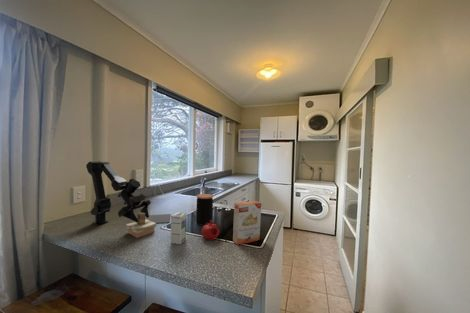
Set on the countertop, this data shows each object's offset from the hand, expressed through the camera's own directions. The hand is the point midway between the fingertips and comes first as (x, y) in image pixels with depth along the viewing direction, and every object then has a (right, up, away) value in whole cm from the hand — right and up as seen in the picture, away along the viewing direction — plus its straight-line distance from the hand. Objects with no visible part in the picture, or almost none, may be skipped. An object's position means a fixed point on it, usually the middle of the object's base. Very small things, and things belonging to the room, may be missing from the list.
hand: (143, 219), depth 112 cm
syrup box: (+22, -9, -9) cm, 26 cm away
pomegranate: (+39, -9, -3) cm, 40 cm away
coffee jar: (+32, -8, +19) cm, 38 cm away
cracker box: (+59, -10, -6) cm, 60 cm away
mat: (0, -7, +22) cm, 23 cm away
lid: (-1, -4, +1) cm, 4 cm away
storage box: (-2, -8, +1) cm, 8 cm away
